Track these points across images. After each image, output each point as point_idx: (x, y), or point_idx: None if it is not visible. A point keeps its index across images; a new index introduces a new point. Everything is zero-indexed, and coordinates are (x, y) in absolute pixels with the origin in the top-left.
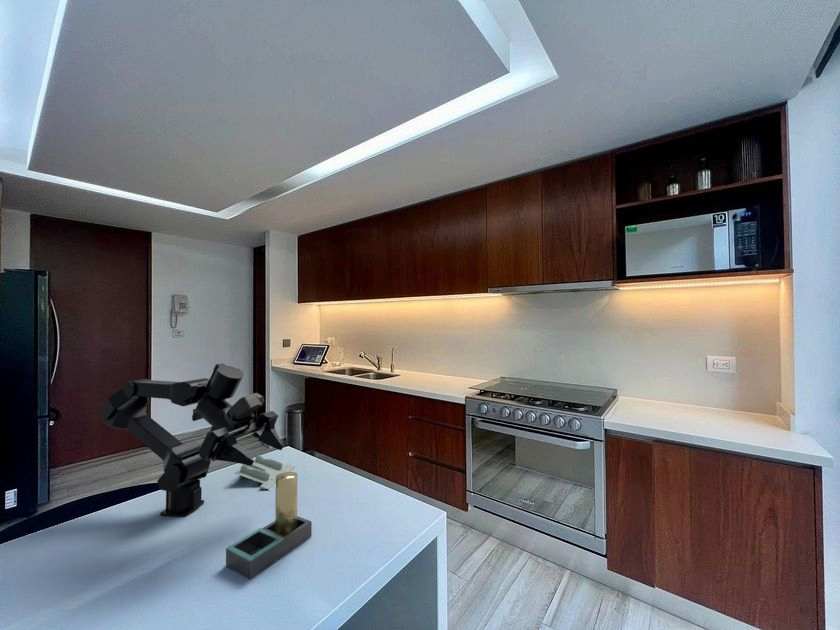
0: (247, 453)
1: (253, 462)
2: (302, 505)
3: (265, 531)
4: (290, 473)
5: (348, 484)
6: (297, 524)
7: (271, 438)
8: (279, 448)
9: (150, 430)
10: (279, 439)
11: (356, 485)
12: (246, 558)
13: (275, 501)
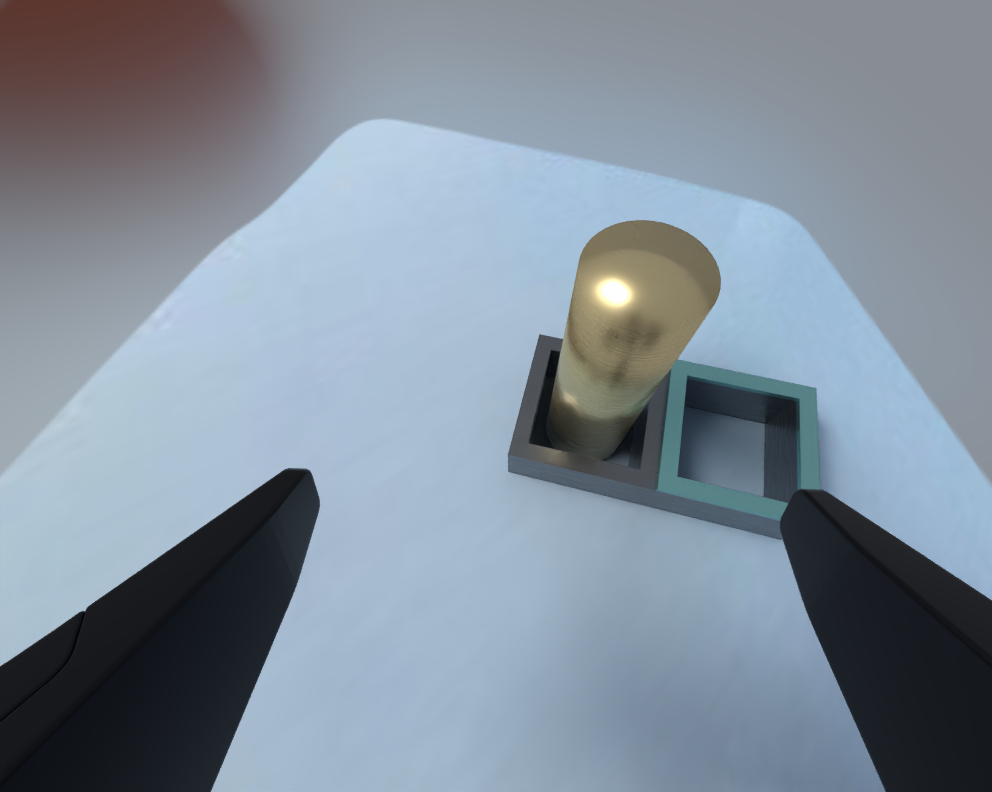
0: (900, 582)
1: (797, 494)
2: (342, 513)
3: (667, 449)
4: (606, 271)
5: (140, 410)
6: (539, 399)
7: (172, 700)
8: (308, 519)
9: None
10: (202, 536)
11: (154, 373)
12: (816, 408)
13: (658, 385)
